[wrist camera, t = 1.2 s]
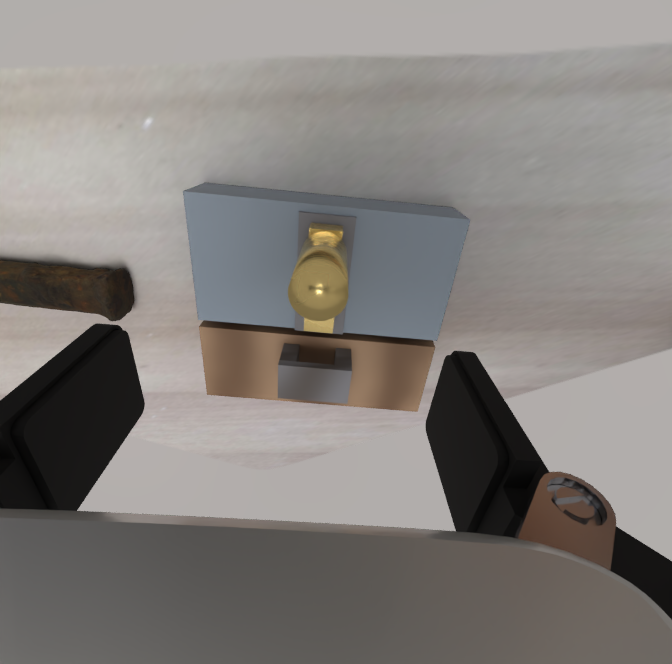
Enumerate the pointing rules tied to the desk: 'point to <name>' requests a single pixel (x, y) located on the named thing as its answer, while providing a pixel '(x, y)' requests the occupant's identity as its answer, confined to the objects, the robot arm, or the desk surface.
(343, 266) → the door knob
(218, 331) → the door jamb
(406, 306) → the door leaf
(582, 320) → the desk surface
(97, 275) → the hand tool
